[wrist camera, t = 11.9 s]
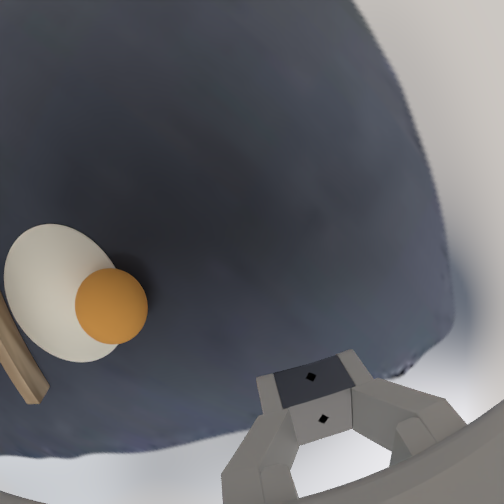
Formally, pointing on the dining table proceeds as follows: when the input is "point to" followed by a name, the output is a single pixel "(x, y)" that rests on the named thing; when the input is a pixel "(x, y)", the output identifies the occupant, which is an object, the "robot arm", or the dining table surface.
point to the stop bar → (19, 360)
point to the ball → (111, 306)
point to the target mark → (53, 289)
